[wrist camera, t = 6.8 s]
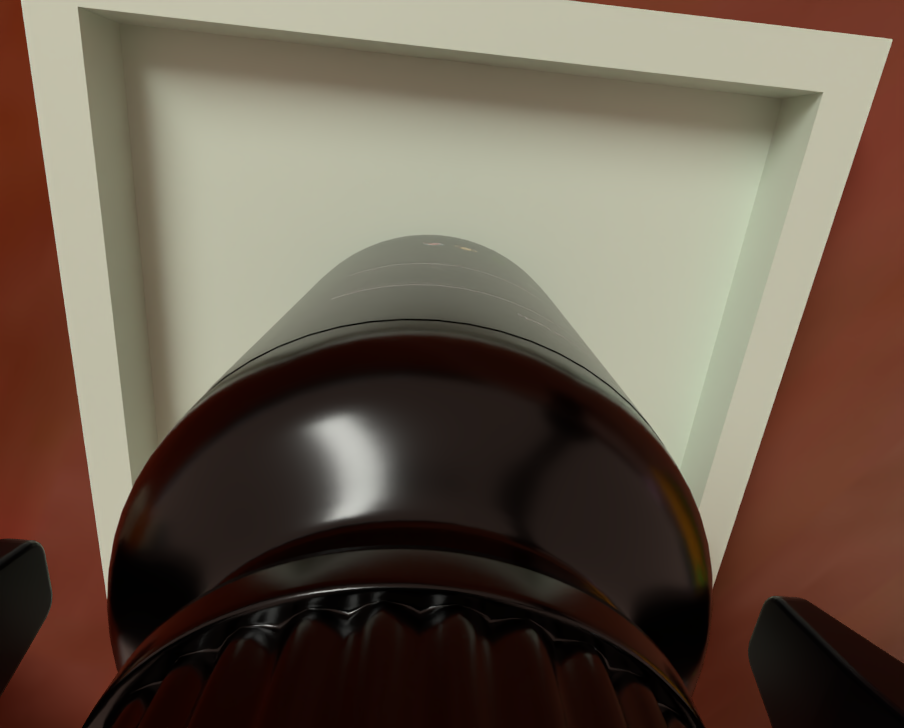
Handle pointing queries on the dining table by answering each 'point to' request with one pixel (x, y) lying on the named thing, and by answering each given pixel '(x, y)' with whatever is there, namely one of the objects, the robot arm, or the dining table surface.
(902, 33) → the dining table surface
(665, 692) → the supplement bottle
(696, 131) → the tray
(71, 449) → the dining table surface
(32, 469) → the dining table surface
